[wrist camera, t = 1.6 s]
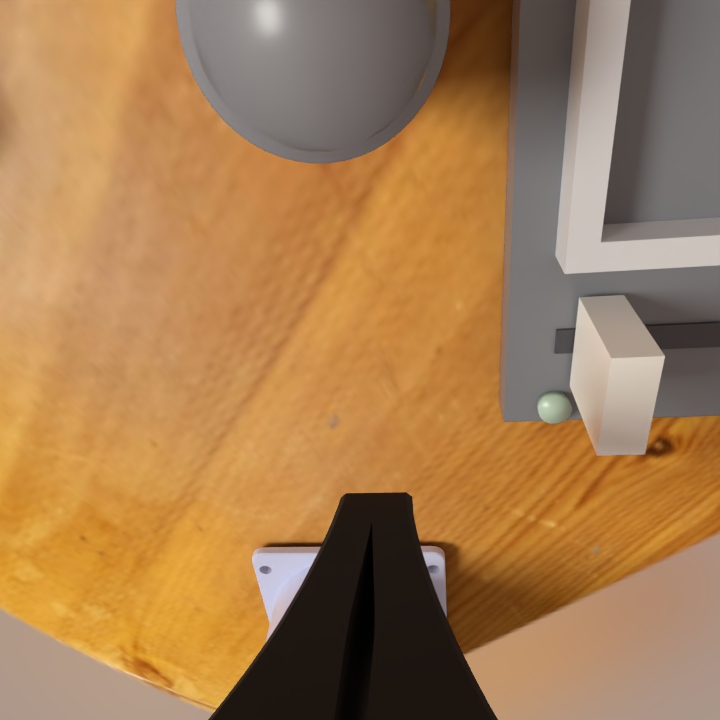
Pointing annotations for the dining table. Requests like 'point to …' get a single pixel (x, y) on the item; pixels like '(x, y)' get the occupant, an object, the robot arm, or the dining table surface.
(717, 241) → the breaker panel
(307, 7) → the beige cylinder
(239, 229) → the dining table surface
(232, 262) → the dining table surface
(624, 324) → the lever
